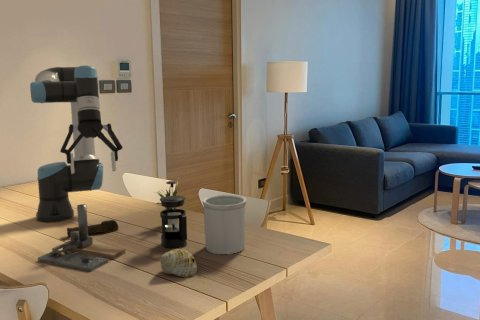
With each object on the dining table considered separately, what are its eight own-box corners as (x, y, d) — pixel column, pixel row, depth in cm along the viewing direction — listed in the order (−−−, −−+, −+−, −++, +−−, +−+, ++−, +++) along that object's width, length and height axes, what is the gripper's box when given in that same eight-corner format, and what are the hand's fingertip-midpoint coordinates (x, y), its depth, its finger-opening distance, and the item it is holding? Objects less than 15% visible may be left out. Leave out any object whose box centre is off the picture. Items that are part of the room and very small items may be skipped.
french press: (154, 244, 174) (151, 181, 170) (174, 238, 180) (172, 177, 177) (174, 252, 166) (172, 186, 162) (195, 245, 172) (194, 182, 169)
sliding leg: (85, 242, 171) (83, 203, 168) (92, 243, 170) (90, 204, 167) (58, 255, 159) (55, 212, 157) (65, 256, 158) (62, 213, 155)
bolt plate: (56, 253, 166) (56, 249, 166) (108, 262, 157) (107, 258, 157) (37, 261, 159) (37, 257, 158) (91, 271, 150) (90, 267, 149)
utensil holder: (237, 257, 160) (237, 206, 157) (196, 252, 165) (195, 202, 162) (252, 243, 174) (252, 196, 171) (214, 239, 179) (213, 192, 176)
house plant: (156, 233, 186) (155, 192, 183) (146, 224, 198) (144, 185, 195) (191, 228, 192) (190, 187, 189) (179, 219, 204) (178, 181, 202)
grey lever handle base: (75, 244, 174) (74, 228, 173) (125, 253, 165) (124, 236, 164) (45, 257, 162) (44, 240, 161) (98, 267, 153) (97, 249, 152)
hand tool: (68, 239, 180) (67, 227, 180) (67, 236, 184) (66, 224, 183) (119, 232, 188) (119, 221, 187) (117, 229, 192) (117, 218, 191)
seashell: (205, 270, 148) (191, 246, 144) (179, 291, 144) (165, 266, 140) (188, 259, 156) (175, 235, 152) (164, 278, 152) (150, 254, 148)
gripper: (50, 108, 158) (55, 173, 156) (127, 107, 169) (133, 168, 167) (49, 113, 165) (53, 175, 162) (122, 113, 176) (128, 171, 173)
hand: (93, 172), depth 164 cm, fingers open, 13 cm apart
